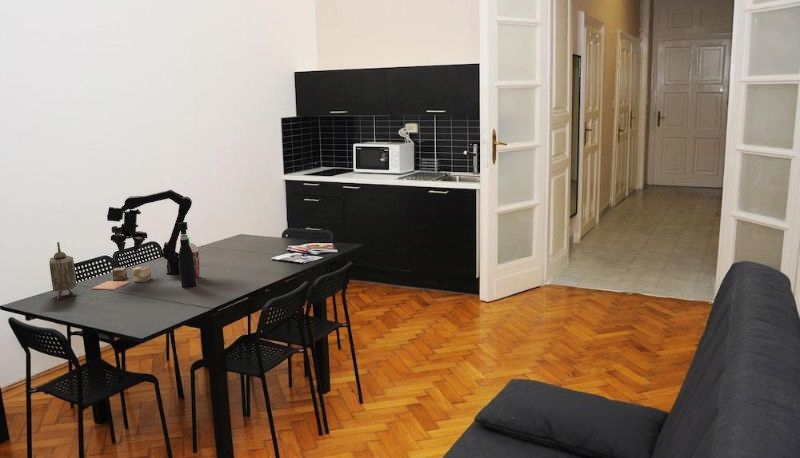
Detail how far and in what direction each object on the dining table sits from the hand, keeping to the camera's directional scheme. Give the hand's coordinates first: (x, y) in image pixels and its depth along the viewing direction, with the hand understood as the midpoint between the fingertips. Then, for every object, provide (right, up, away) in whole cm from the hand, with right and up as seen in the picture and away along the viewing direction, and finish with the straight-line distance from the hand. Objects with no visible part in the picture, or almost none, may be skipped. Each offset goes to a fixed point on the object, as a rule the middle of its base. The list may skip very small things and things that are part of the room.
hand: (128, 253), depth 340 cm
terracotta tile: (-3, -15, -12) cm, 20 cm away
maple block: (+8, -13, -3) cm, 15 cm away
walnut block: (-4, -12, +1) cm, 13 cm away
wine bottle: (+35, -15, -18) cm, 42 cm away
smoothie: (+33, -12, -4) cm, 35 cm away
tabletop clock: (-18, -18, -26) cm, 36 cm away
